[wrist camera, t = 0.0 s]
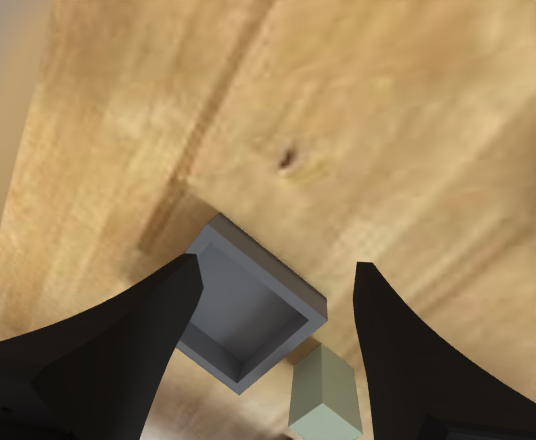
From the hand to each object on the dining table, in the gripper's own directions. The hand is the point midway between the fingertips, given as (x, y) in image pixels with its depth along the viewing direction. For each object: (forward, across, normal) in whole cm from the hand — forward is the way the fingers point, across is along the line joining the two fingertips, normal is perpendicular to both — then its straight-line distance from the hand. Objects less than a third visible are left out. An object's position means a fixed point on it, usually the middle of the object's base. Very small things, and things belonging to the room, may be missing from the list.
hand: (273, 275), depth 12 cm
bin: (+9, +6, +10) cm, 15 cm away
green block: (+8, -3, +17) cm, 19 cm away
